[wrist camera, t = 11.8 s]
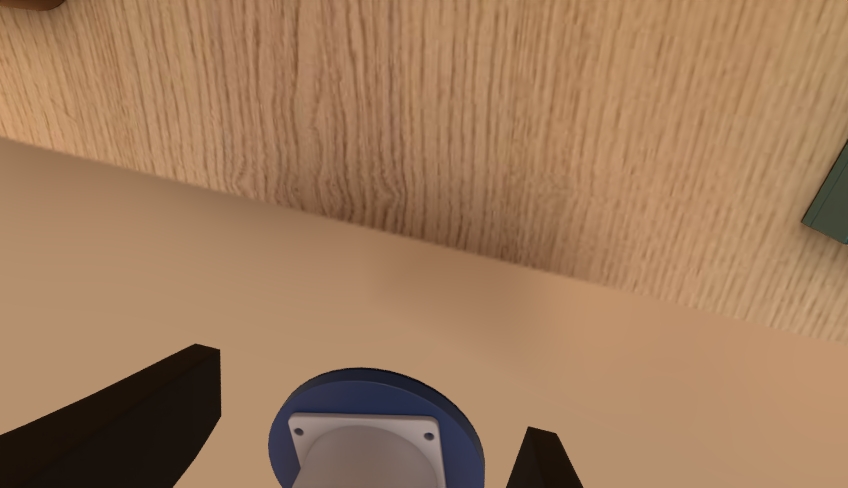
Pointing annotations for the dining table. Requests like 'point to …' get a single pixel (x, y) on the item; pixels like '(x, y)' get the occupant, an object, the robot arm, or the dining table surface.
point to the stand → (31, 4)
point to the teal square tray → (832, 203)
